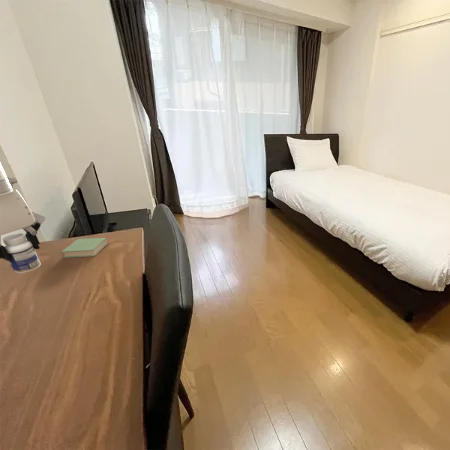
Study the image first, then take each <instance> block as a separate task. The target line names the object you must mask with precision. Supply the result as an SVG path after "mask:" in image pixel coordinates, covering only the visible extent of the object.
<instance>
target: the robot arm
mask: <svg viewBox="0 0 450 450" xmlns="http://www.w3.org/2000/svg"><path fill="white" fill-rule="evenodd" d="M17 183H18V180H17V179H16V177H9V176H8V175H7V174H6V171H5V169H4V167H3V165H2V162H1V161H0V260H1V259H2V260H5V261H7V262H9V260H10V259H11V258H10V256H9V254H8V252H7V250H6V248H5V246H4V245H2V243H1V237H2V236H3V235H6V234H10V233H12V232H15V231H19V230H23V231H24V232H25V234H24V236H25V238H26V240H28V241H30V242H31V243H32V245H33V247H34V250H39V249H41V248H40V244H41V243H40V240H39V238H38V236H37V235H38V231H39V230H40V228H41V225H42V224H43V222H44V221H45V220H46V217H45V216H43V215H41V214H39V213H36V212H34V211H32V210H31V208H30V206H29V205H28V203H27V202H26V200H25V198H24V197H23V196H22V194H21V193H20V192H19V191H18V189H17V188H15V187H14V186H13V185H15V184H17Z"/></svg>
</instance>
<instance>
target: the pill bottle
mask: <svg viewBox="0 0 450 450" xmlns="http://www.w3.org/2000/svg"><path fill="white" fill-rule="evenodd" d="M2 241H3V244H4V245H5V246H4V247H5V248H6V250H7V252H8V254H9V256H10V258H11V259H10V260H9V261H8V263H9V264H10V266H11V268H12V270H13V272H14V273H16V274H26V273H30V272H33V271H36V270H37V269H38V268H40V267H41V265H42V263H41V261H40V259H39V257H38V254H37V252H36V249H34V247H33V245H32V243H31V242H30V241H28V240H27V239H26V237H25V234H24V233H20V232H18V233H12V234H8V235H6V236H4V237H3V238H2Z"/></svg>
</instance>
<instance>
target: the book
mask: <svg viewBox="0 0 450 450" xmlns="http://www.w3.org/2000/svg"><path fill="white" fill-rule="evenodd" d="M108 245H109V242H108V241H107V237H91V238H89V237H88V238H77V239H75V240H74V241H73V242H72V243H70V244H69V245H67V247H65V248H64V249H63V250H62V251H61V253H63V255H64V256H63V258H64V259H67V258H68V259H69V258H89V257H96V256H97V255H98V254H99V253H100V252H101V251H103V250H104V248H106V247H107V246H108Z"/></svg>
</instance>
